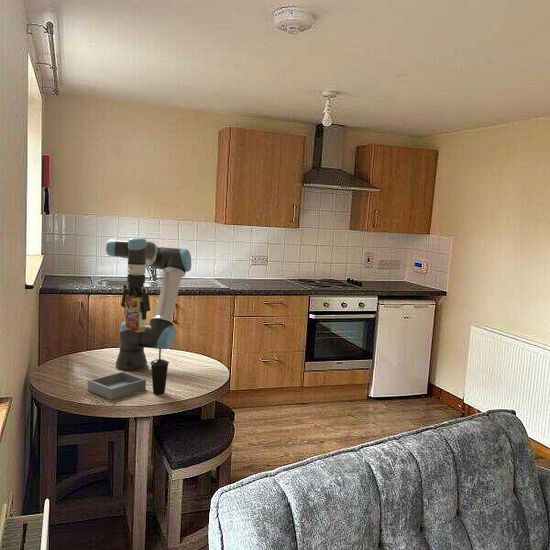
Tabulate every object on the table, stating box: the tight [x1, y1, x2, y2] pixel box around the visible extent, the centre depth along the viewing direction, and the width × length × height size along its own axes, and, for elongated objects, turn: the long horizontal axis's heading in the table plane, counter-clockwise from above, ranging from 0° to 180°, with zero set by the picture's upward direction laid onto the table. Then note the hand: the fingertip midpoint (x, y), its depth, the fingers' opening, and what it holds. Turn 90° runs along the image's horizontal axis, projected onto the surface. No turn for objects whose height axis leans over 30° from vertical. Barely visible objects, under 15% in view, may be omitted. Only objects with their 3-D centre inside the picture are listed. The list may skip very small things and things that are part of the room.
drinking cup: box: [150, 348, 170, 396], centre depth 230 cm, size 8×8×20 cm
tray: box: [87, 371, 147, 401], centre depth 232 cm, size 16×18×4 cm
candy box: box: [124, 295, 145, 333], centre depth 234 cm, size 9×4×15 cm, turn 56°
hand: (134, 324), depth 235 cm, fingers closed on candy box, 9 cm apart
